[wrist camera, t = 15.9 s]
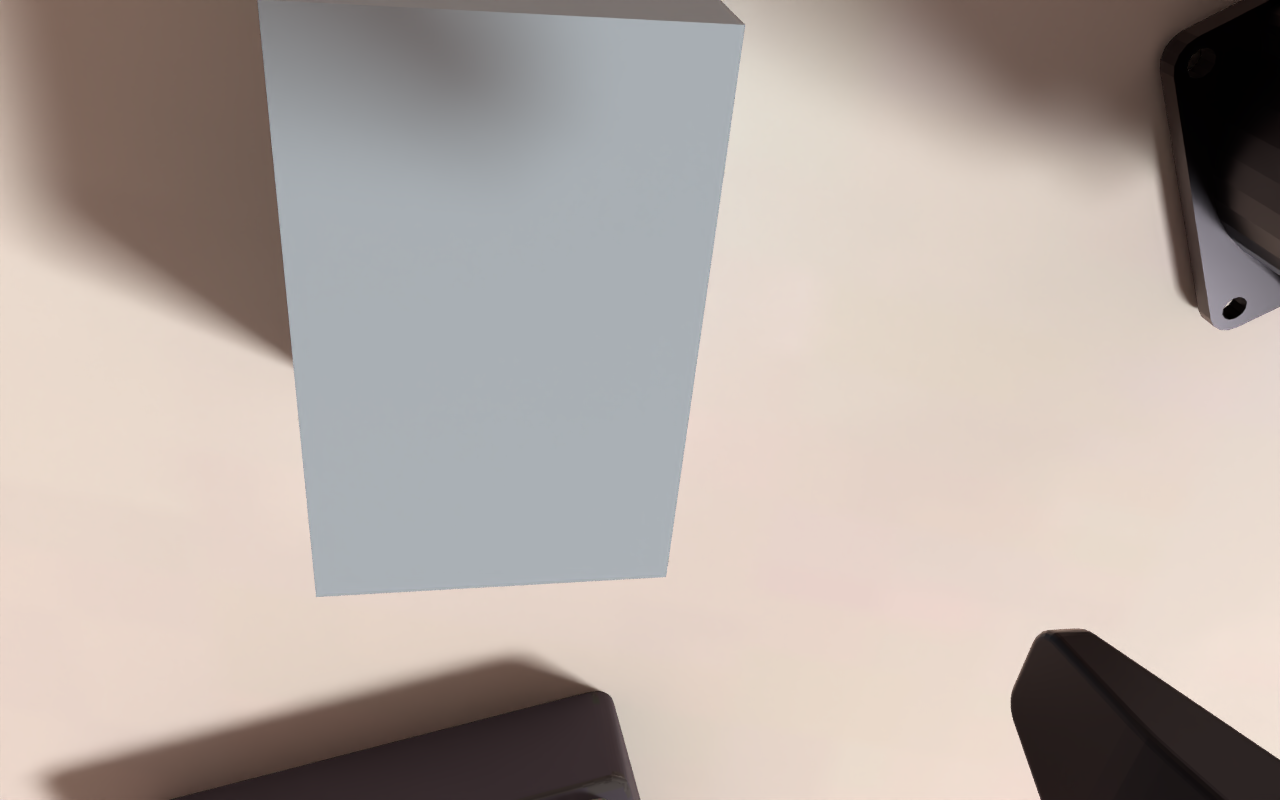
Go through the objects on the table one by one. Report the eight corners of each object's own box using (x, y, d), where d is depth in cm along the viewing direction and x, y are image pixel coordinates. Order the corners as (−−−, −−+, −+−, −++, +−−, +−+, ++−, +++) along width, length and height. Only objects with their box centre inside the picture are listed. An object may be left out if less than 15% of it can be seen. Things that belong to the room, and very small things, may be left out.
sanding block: (608, 379, 20) (666, 577, 16) (337, 384, 19) (316, 597, 15) (649, -72, 16) (744, 24, 11) (302, -96, 15) (257, 0, 10)
